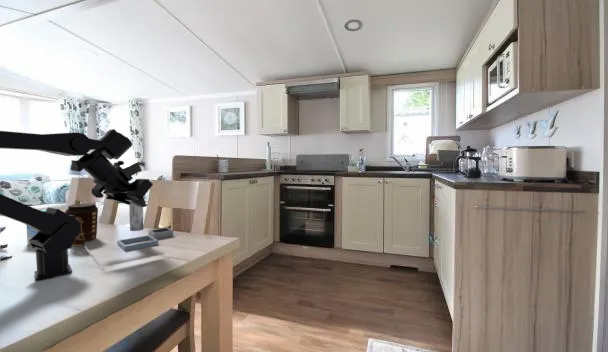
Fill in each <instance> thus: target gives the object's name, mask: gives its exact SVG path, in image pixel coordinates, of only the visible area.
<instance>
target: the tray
mask: <svg viewBox="0 0 608 352" xmlns="http://www.w3.org/2000/svg"><path fill="white" fill-rule="evenodd" d="M142 241H144V242H142ZM137 242H138V243H137ZM116 243H117V246H118V247H119V248H120V249H121V250H122V251H124V252H128V251H133V250H139V249H144V248H148V247H153V246H154V247H155V246H159V240H157V239H155V238H153V237H151V236H150V235H149V234H147V235H143V236H137V237H131V238H125V239H118V240H117V241H116ZM133 243H134V244H133ZM128 244H129V245H128Z"/></svg>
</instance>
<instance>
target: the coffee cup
mask: <svg viewBox="0 0 608 352" xmlns="http://www.w3.org/2000/svg"><path fill="white" fill-rule="evenodd" d="M65 210H66V214H68V215H73V216H76V217H75V218H73V219H76V220H77V221H79V223H80V226H81V231H80V233H79V235H78V236H77V237H76V238H75V240H74V242H73V245H72V247H85V246H86V244H85V242H92V241H94V240H96V239H97V233H98V213H99V212H98V211H99V208H98V206H97V205H96V203H91V202H89V203H79V204H77V203H76V204H71V205H68V206H67V208H66V209H65Z"/></svg>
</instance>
